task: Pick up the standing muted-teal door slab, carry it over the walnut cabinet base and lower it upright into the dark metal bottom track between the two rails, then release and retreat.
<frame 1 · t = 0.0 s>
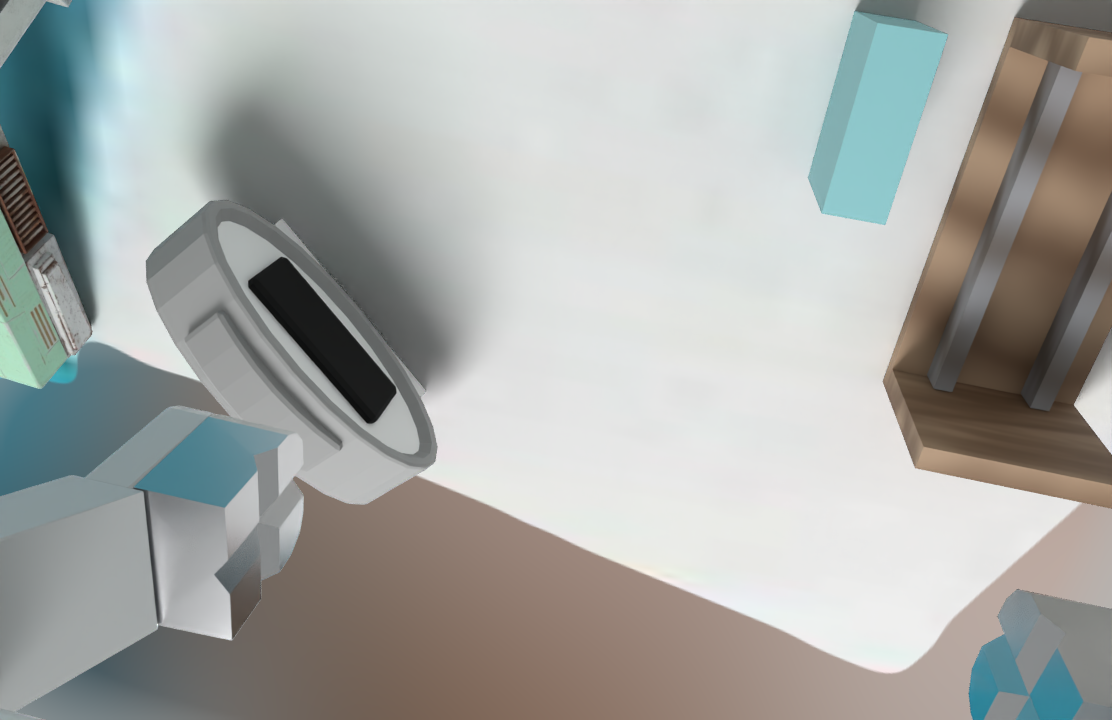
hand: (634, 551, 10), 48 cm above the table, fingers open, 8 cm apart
door panel: (859, 102, 52), on the table
cabinet base: (1038, 235, 54), on the table
alarm clock: (337, 320, 65), on the table
ray gun: (54, 140, 63), on the table
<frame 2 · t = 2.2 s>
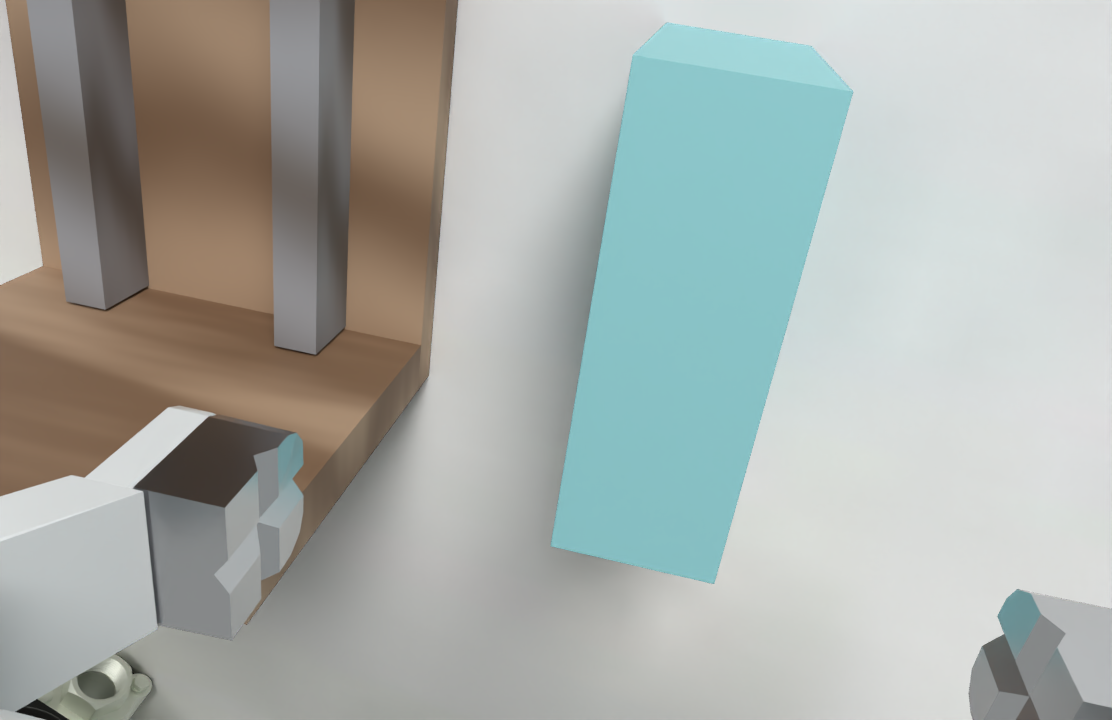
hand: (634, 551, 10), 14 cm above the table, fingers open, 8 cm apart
door panel: (695, 230, 23), on the table
pneumatic valve: (101, 669, 35), on the table
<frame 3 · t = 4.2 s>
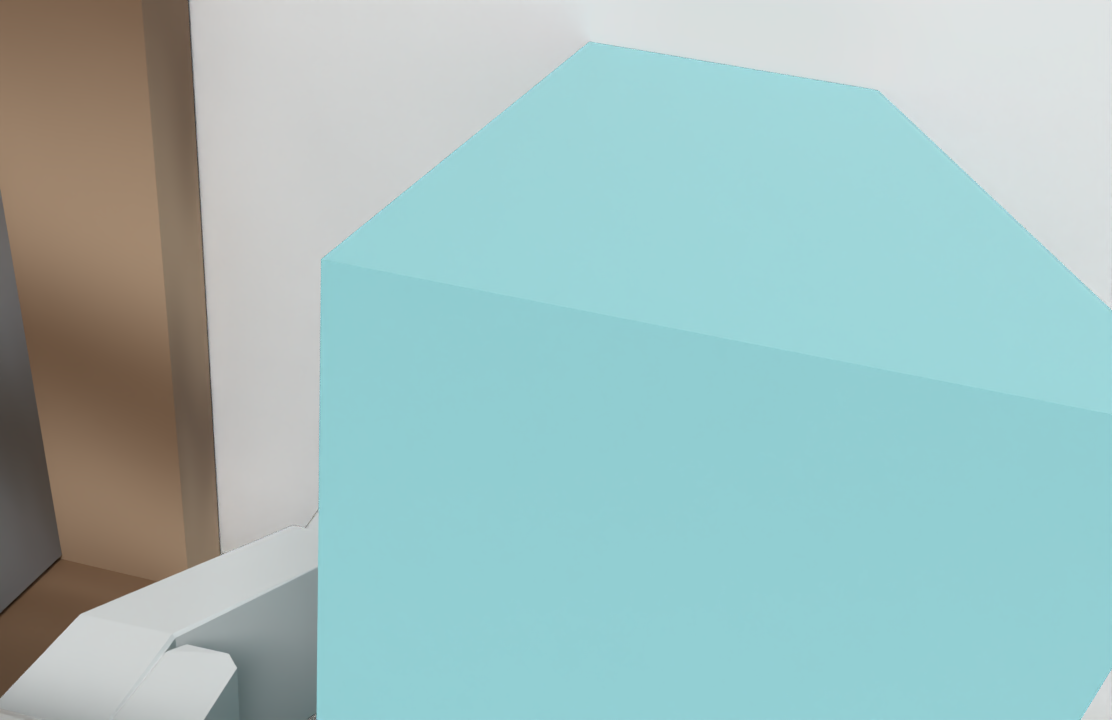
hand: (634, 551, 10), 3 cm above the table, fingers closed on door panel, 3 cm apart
door panel: (653, 416, 13), on the table, touching gripper
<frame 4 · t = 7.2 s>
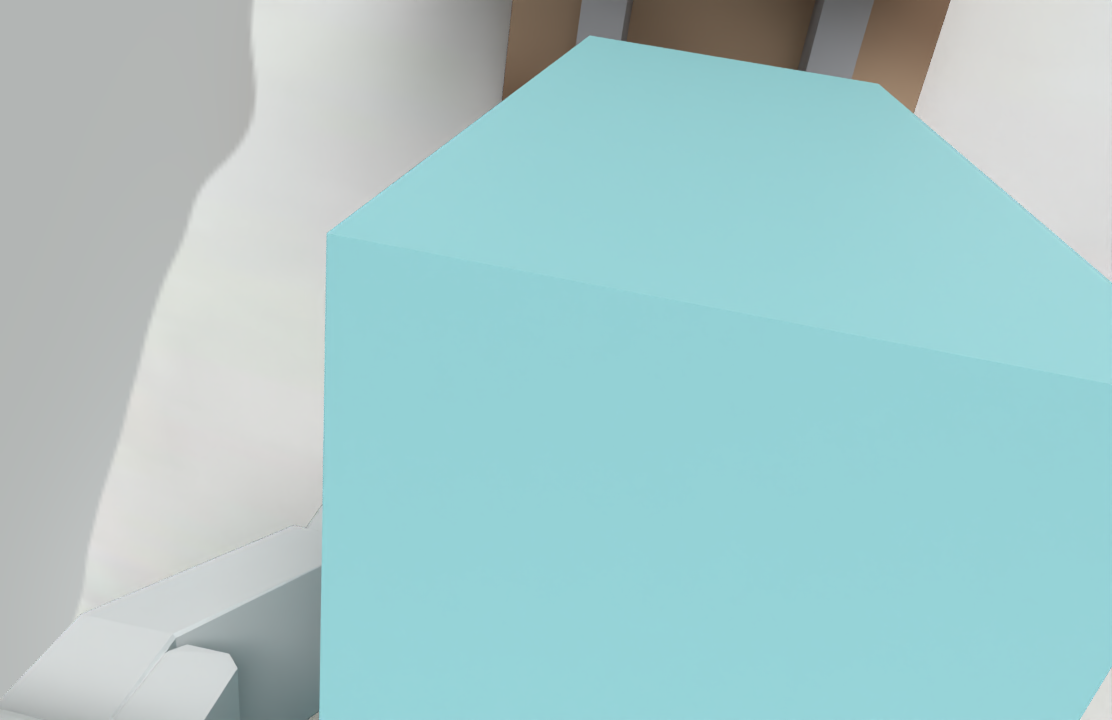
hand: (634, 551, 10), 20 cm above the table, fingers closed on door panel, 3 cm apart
door panel: (653, 412, 13), point 16 cm above the table, touching gripper
cabinet base: (688, 160, 27), on the table
when the fingers open (6 cm above the table, at t = 10.3 s): door panel drops 1 cm, resting on cabinet base.
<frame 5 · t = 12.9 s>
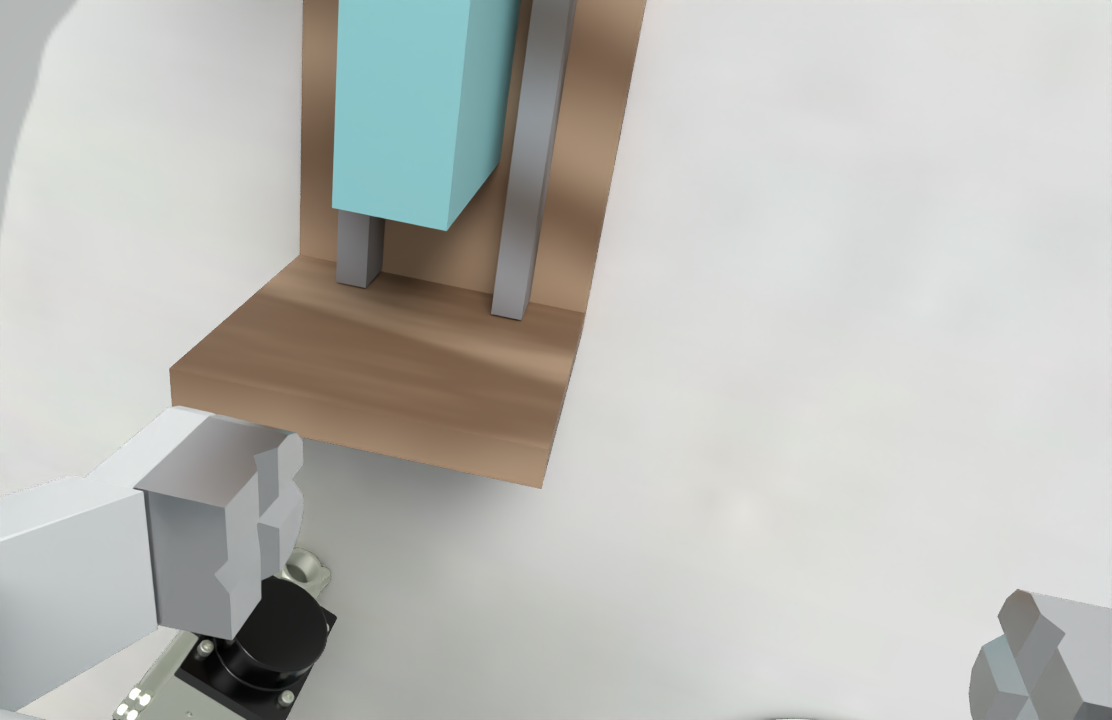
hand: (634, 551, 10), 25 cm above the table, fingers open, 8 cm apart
door panel: (469, 12, 30), point 1 cm above the table, touching cabinet base
cabinet base: (474, 8, 31), on the table
pneumatic valve: (286, 565, 45), on the table
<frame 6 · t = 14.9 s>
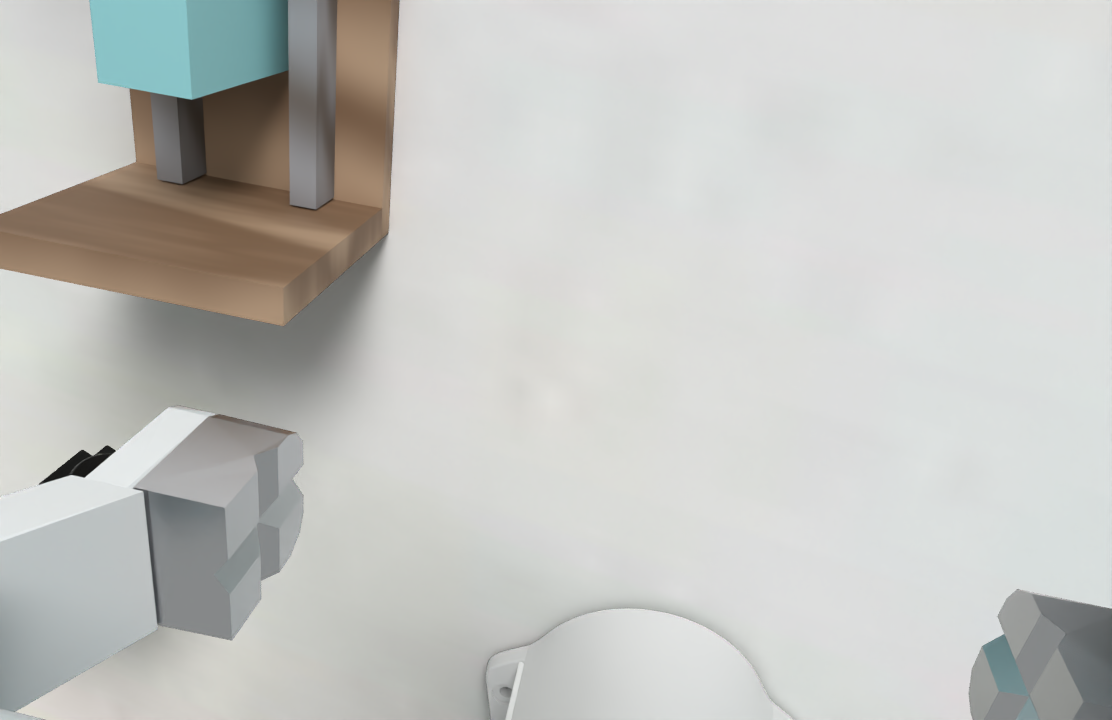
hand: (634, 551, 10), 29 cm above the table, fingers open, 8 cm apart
pneumatic valve: (162, 467, 50), on the table
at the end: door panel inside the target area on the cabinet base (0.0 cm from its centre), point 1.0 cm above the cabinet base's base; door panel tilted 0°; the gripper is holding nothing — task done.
